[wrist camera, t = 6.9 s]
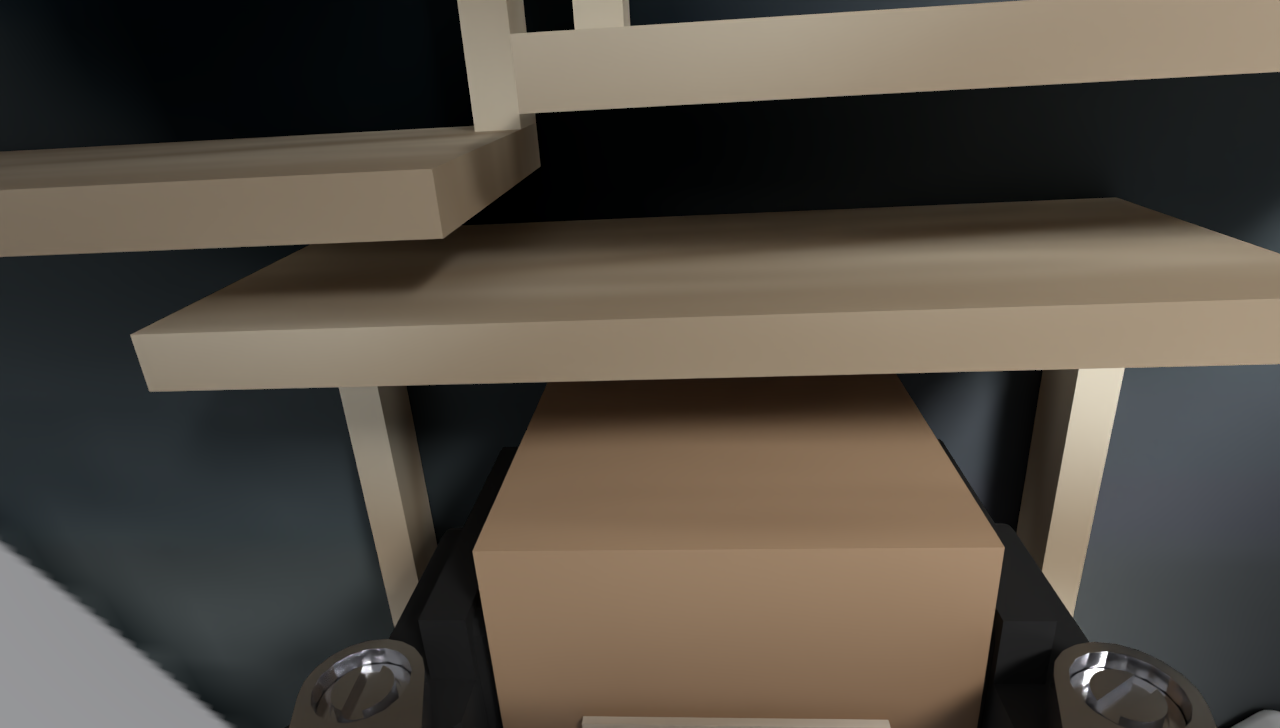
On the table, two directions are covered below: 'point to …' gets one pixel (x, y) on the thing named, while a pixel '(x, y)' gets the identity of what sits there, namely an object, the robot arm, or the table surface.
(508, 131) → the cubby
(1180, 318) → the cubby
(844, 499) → the letter cube
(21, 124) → the table surface
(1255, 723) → the jar
